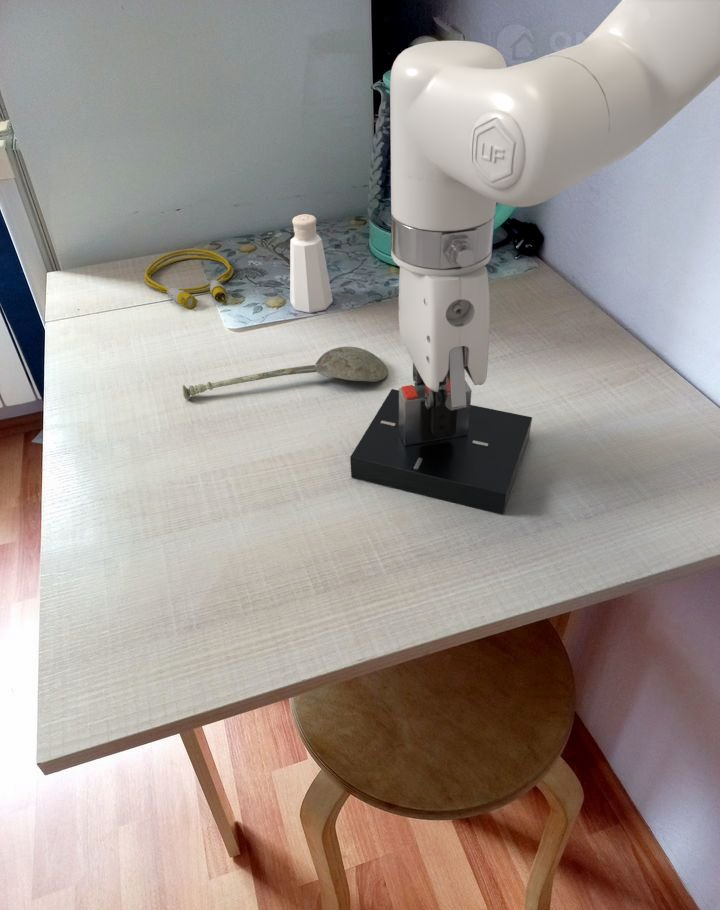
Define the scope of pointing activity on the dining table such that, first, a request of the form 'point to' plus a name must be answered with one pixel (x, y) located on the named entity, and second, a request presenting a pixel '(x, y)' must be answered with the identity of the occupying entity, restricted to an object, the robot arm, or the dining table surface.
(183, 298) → the extension cord
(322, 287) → the pepper shaker
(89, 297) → the dining table surface
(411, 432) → the tap handle
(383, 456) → the plate
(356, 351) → the soupspoon
